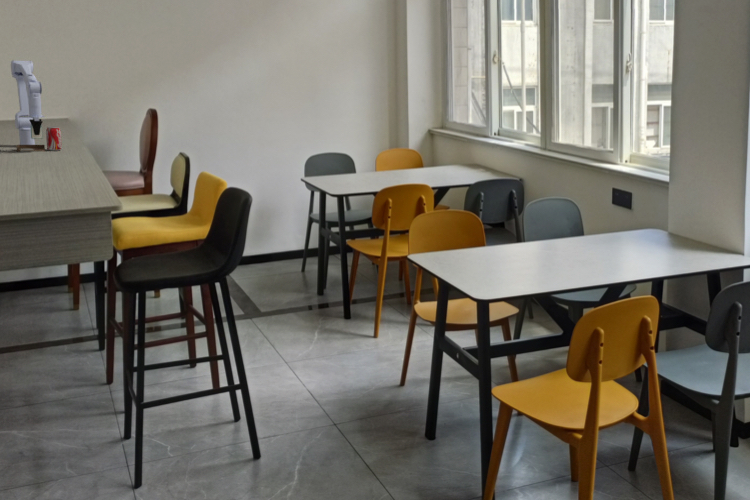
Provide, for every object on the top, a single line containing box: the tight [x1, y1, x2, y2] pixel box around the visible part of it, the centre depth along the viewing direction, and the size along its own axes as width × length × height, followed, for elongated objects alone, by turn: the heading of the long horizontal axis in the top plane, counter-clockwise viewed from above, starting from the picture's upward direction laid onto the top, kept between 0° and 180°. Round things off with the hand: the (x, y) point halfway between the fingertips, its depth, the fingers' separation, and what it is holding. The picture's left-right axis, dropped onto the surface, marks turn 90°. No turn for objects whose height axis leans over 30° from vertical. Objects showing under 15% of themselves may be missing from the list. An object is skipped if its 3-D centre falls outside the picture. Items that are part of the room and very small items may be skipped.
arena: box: [15, 144, 46, 152], centre depth 389 cm, size 8×13×2 cm, turn 113°
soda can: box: [45, 125, 63, 152], centre depth 392 cm, size 7×7×12 cm
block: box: [30, 125, 44, 140], centre depth 382 cm, size 5×5×6 cm
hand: (36, 134), depth 382 cm, fingers closed on block, 5 cm apart
